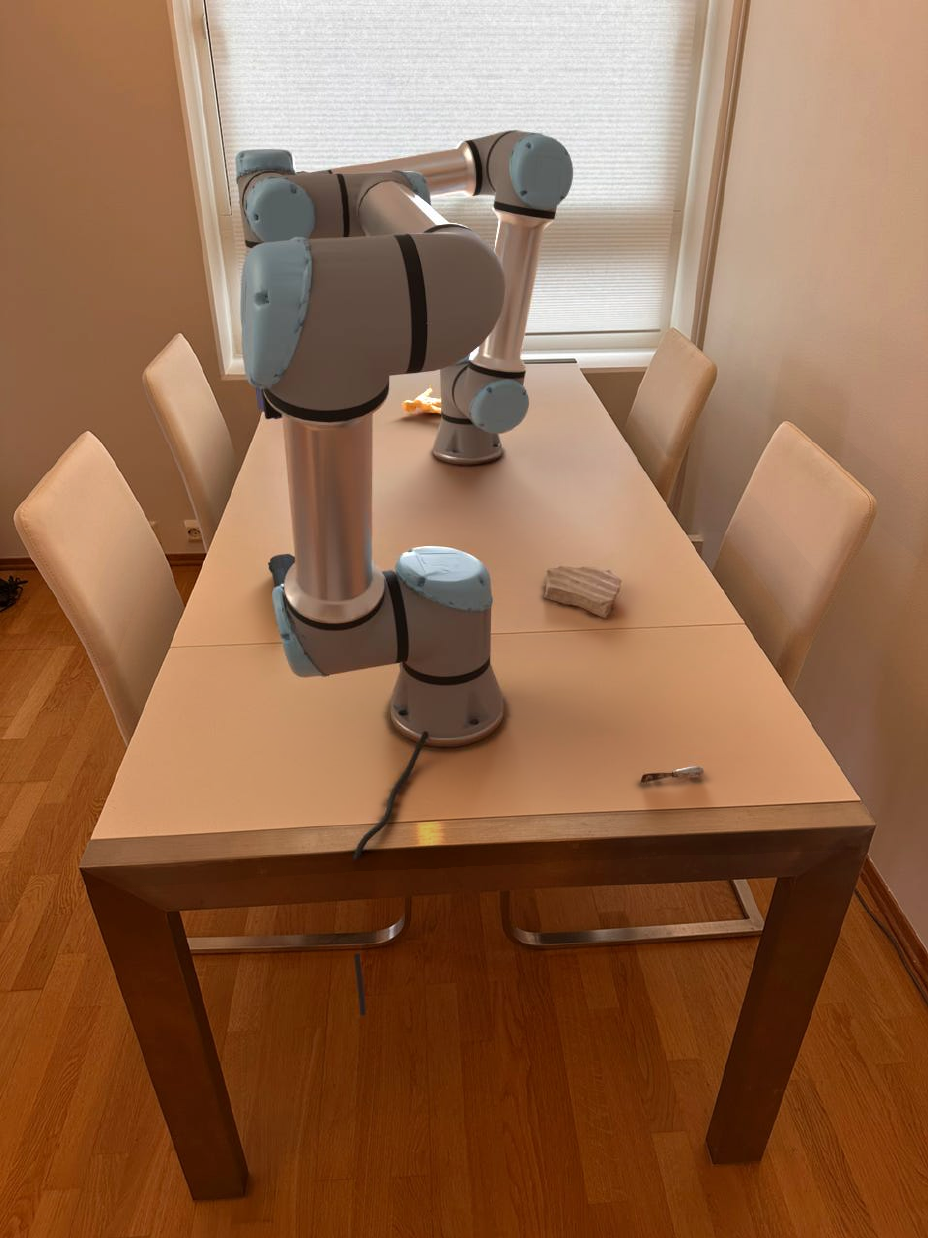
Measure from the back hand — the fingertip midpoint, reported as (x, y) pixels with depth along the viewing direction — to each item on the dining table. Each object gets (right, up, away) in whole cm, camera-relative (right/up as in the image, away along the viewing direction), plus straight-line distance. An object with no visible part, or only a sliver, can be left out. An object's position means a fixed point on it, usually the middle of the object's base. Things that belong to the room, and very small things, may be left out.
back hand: (286, 398), depth 167 cm
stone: (+53, -38, -20) cm, 68 cm away
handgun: (+7, -37, -18) cm, 42 cm away
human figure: (+30, +12, +59) cm, 67 cm away
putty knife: (+59, -61, -58) cm, 103 cm away
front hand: (+8, -13, -35) cm, 39 cm away
